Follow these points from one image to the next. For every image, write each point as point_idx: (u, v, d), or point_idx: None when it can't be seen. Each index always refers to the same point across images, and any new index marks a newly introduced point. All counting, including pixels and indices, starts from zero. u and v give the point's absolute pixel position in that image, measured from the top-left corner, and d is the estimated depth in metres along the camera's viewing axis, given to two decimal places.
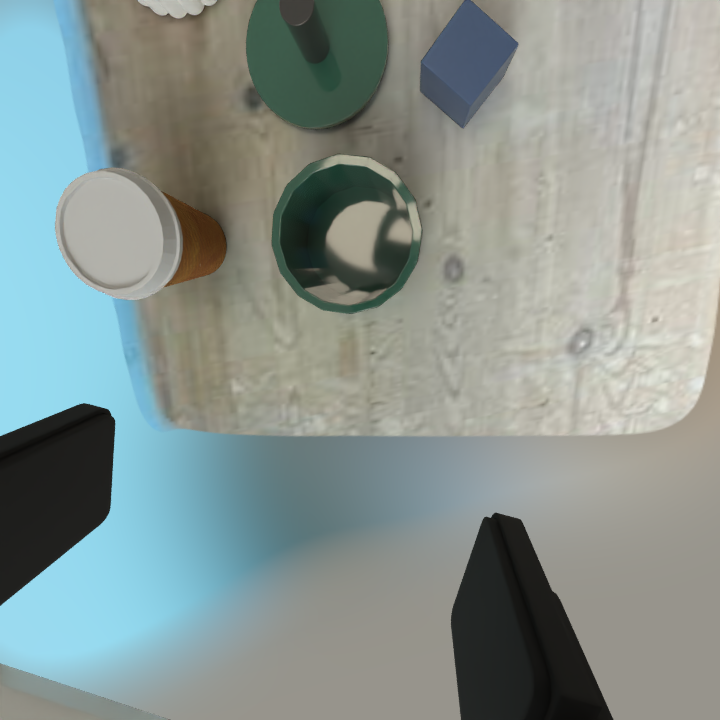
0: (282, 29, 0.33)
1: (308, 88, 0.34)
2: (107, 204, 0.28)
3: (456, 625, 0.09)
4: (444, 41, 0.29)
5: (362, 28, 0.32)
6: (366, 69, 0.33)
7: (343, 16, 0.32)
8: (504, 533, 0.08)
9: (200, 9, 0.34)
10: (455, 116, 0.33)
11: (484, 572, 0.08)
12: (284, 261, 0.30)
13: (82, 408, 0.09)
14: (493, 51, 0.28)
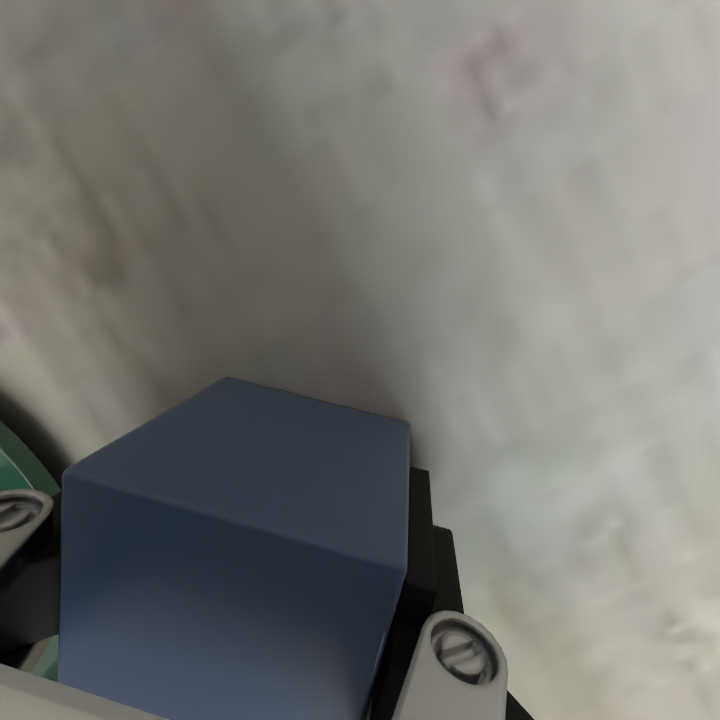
0: None
1: None
2: None
3: None
4: (89, 645, 0.06)
5: None
6: None
7: None
8: None
9: None
10: None
11: None
12: None
13: None
14: (307, 629, 0.05)
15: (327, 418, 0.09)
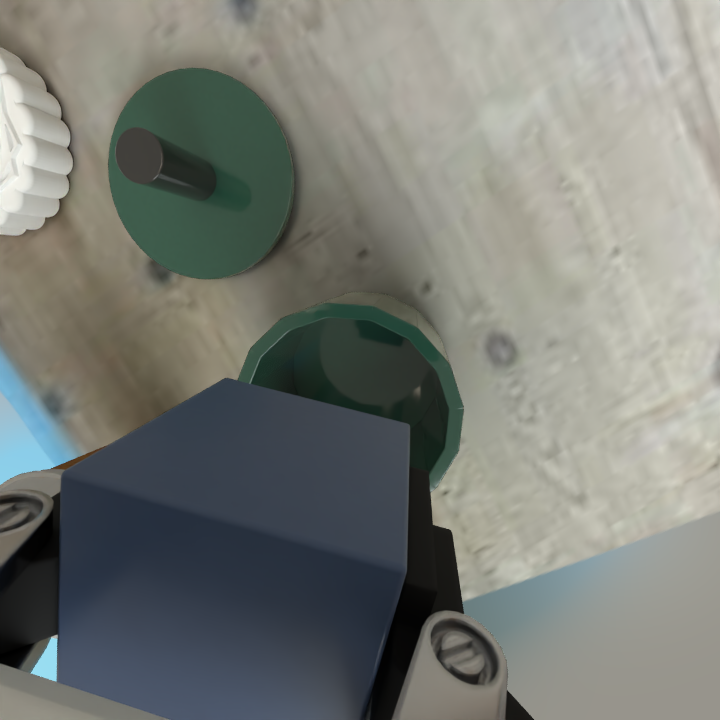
0: None
1: (213, 231, 0.25)
2: None
3: None
4: (88, 647, 0.06)
5: (241, 128, 0.24)
6: (270, 173, 0.24)
7: (212, 128, 0.24)
8: None
9: (55, 206, 0.27)
10: None
11: None
12: None
13: None
14: (307, 631, 0.05)
15: (327, 419, 0.09)
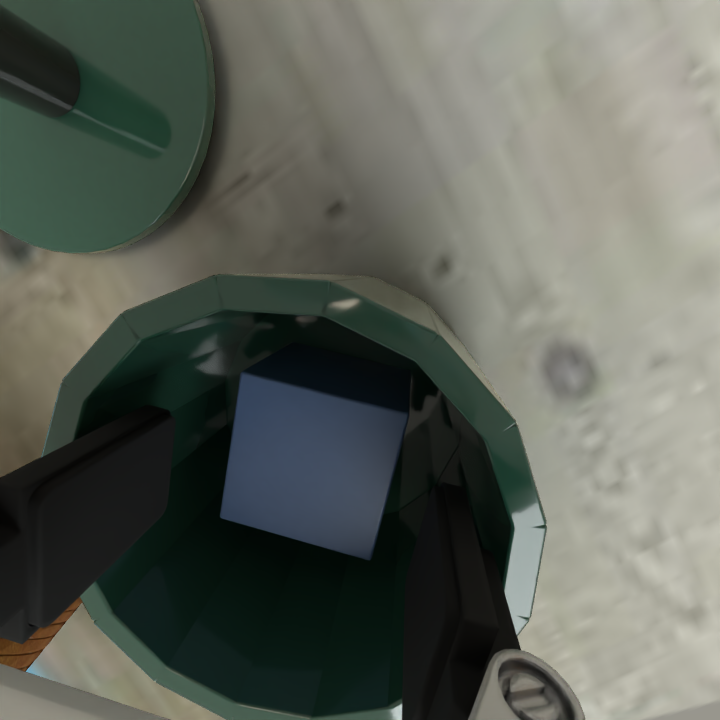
0: None
1: (81, 170, 0.15)
2: None
3: (407, 585, 0.09)
4: (244, 468, 0.12)
5: None
6: (169, 62, 0.14)
7: None
8: (446, 498, 0.09)
9: None
10: None
11: (428, 533, 0.09)
12: (149, 653, 0.10)
13: (148, 409, 0.09)
14: (360, 450, 0.11)
15: (360, 364, 0.15)
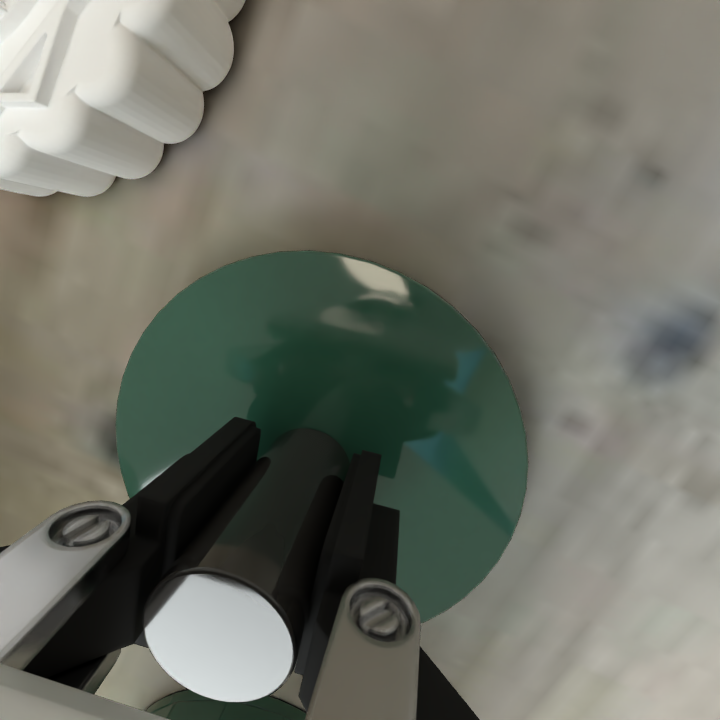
0: (237, 385, 0.11)
1: None
2: None
3: None
4: None
5: (449, 502, 0.11)
6: (412, 584, 0.12)
7: (413, 451, 0.11)
8: (359, 462, 0.09)
9: (43, 193, 0.11)
10: None
11: None
12: None
13: (238, 421, 0.10)
14: None
15: None
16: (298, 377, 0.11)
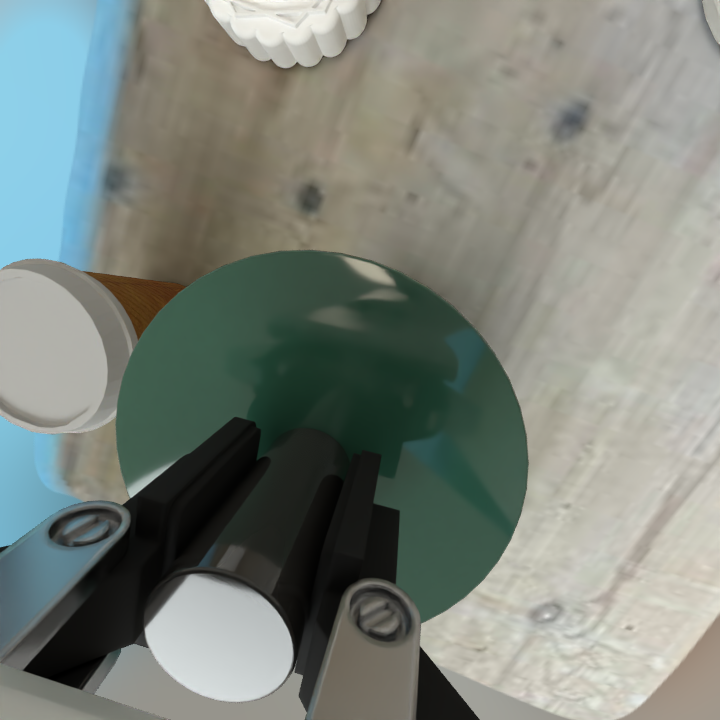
0: (237, 384, 0.11)
1: None
2: (43, 316, 0.19)
3: None
4: None
5: (449, 502, 0.11)
6: (412, 583, 0.12)
7: (413, 450, 0.11)
8: (359, 462, 0.09)
9: (289, 65, 0.25)
10: None
11: None
12: None
13: (238, 421, 0.10)
14: None
15: None
16: (298, 377, 0.11)
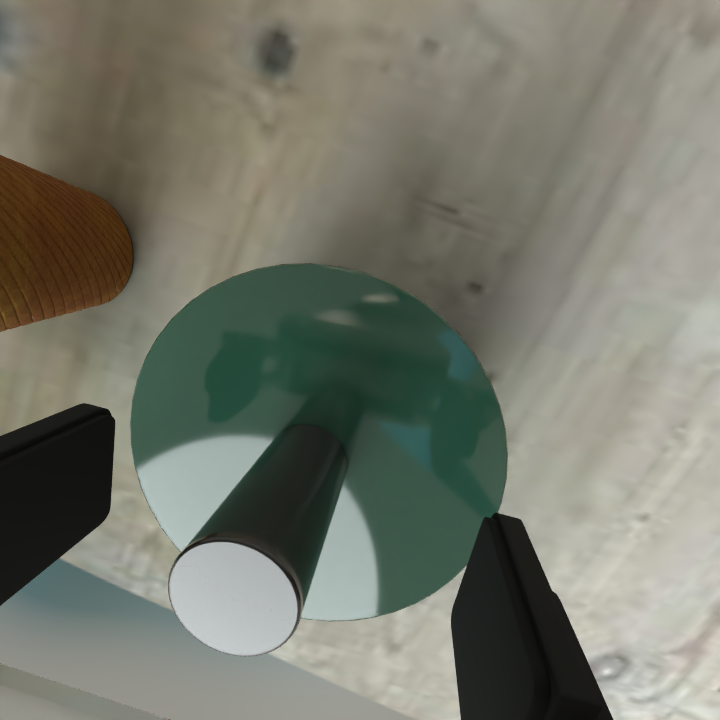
0: (243, 385, 0.12)
1: None
2: None
3: (456, 625, 0.09)
4: None
5: (437, 491, 0.12)
6: (403, 567, 0.13)
7: (404, 444, 0.12)
8: (504, 533, 0.08)
9: None
10: None
11: (484, 572, 0.08)
12: None
13: (82, 408, 0.09)
14: None
15: None
16: (299, 378, 0.12)
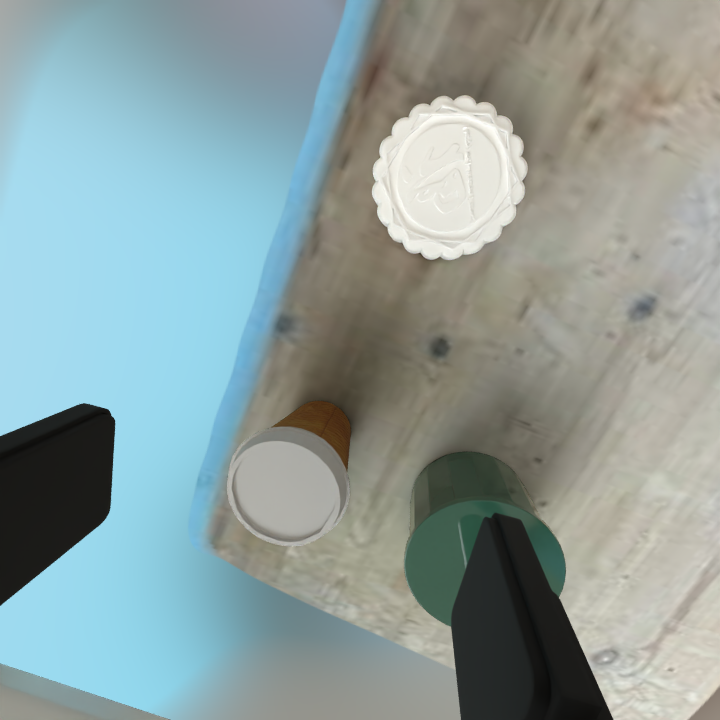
0: (458, 541, 0.30)
1: (455, 594, 0.32)
2: (294, 469, 0.28)
3: (456, 625, 0.09)
4: None
5: None
6: None
7: None
8: (504, 533, 0.08)
9: None
10: None
11: (484, 572, 0.08)
12: None
13: (82, 408, 0.09)
14: None
15: None
16: None
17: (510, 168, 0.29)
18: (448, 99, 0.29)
